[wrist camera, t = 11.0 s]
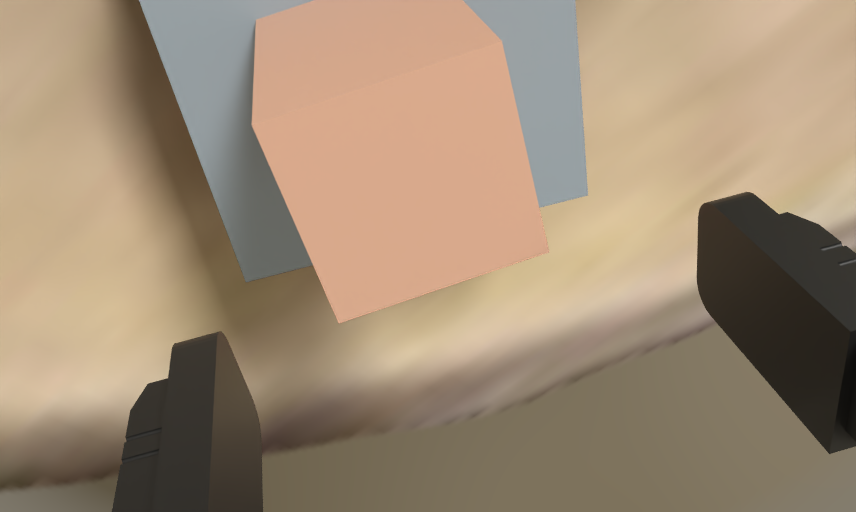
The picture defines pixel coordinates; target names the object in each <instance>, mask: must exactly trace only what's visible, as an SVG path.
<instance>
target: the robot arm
mask: <svg viewBox="0 0 856 512" xmlns="http://www.w3.org/2000/svg"><path fill="white" fill-rule="evenodd" d="M697 285H698V290H699V294H700V297H701V300H702V302H703V304H704V306H705V308H706V310H707V311H708V313H709V314H710V315H711V317H712V318H713V319H714V320H715V321H716V322H717V324H718V325H719V326H720V327H721V328H722V329H723V331H724V332H725V333H726V334H727V335H728V336H729V338H730V339H731V340H732V341H733V342H734V343H735V345H736V346H737V347H738V348H739V349H740V350H741V352H742V353H743V354H744V355H745V356H746V357H747V359H748V360H749V361H750V362H751V363H752V364H753V366H754V367H755V368H756V369H757V370H758V371H759V373H760V374H761V375H762V376H763V377H764V378H765V380H766V381H767V382H768V383H769V384H770V385H771V387H772V388H773V389H774V390H775V391H776V392H777V393H778V395H779V396H780V397H781V398H782V399H783V400H784V401H785V403H786V404H787V405H788V406H789V408H791V410H792V411H793V412H794V413H795V415H796V416H797V417H798V418H799V419H800V420H801V421H802V423H803V424H804V425H805V426H806V427H807V428H808V430H809V431H810V432H811V433H812V434H813V435H814V437H815V438H816V439H817V440H818V441H819V442H820V444H821V445H822V446H823V447H824V448H825V449H826V451H827V452H828V453H829V454H831V453H834V452H837V451H841V450H844V449H848V448H851V447H854V446H856V253H855V252H853V251H852V250H851V249H849V248H848V247H847V246H842V243H841V241H839V240H838V239H837V238H835V237H834V236H833V235H832V234H830V233H829V232H828V231H827V230H825V229H824V228H823V227H821V226H820V225H819V224H816V223H814V222H811V221H809V220H806V219H804V218H801V217H798V216H796V215H793V214H791V213H788V212H786V213H783V214H778V213H776V212H775V211H774V210H773V209H772V208H770V207H769V206H768V205H767V204H766V203H764V202H763V201H762V200H761V199H759V198H758V197H757V196H756V195H754V194H753V193H750V192H745V193H741V194H737V195H733V196H730V197H726V198H722V199H718V200H715V201H711V202H707V203H704V204H703V205H702V206H701V208H700V210H699V216H698V251H697ZM126 440H127V442H125V443H124V448H123V454H122V462H123V464H122V465H120V470H119V476H118V481H117V487H116V492H115V498H114V503H113V509H112V512H263V496H262V448H261V430H260V424H259V419H258V415H257V411H256V407H255V404H254V401H253V399H252V396H251V394H250V392H249V389H248V387H247V385H246V382H245V380H244V378H243V375H242V373H241V371H240V368H239V366H238V364H237V361H236V359H235V357H234V354H233V352H232V350H231V347H230V345H229V343H228V341H227V339H226V337H225V335H224V334H223V333H222V332H216V333H213V334H209V335H205V336H201V337H198V338H194V339H190V340H186V341H183V342H179V343H175V344H174V345H173V347H172V353H171V361H170V369H169V376H168V378H167V379H164V380H160V381H156V382H153V383H149V384H147V386H146V387H145V389H144V391H143V392H142V394H141V395H140V397H139V398H138V400H137V401H136V403H135V404H134V406H133V407H132V409H131V410H130V416H129V421H128V427H127V432H126Z"/></svg>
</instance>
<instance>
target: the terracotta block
mask: <svg viewBox="0 0 856 512" xmlns="http://www.w3.org/2000/svg"><path fill="white" fill-rule="evenodd" d="M252 127H253V129H254V132H255V134H256V136H257V139H258V141H259V143H260V145H261V148H262V150H263V152H264V154H265V157H266V159H267V161H268V164H269V166H270V168H271V170H272V173H273V175H274V177H275V180H276V182H277V184H278V186H279V189H280V191H281V193H282V195H283V198H284V200H285V202H286V205H287V207H288V209H289V211H290V214H291V216H292V218H293V221H294V223H295V225H296V227H297V230H298V232H299V234H300V236H301V239H302V241H303V243H304V246H305V248H306V250H307V252H308V255H309V257H310V259H311V262H312V264H313V266H314V268H315V271H316V273H317V275H318V277H319V280H320V282H321V284H322V287H323V289H324V291H325V293H326V296H327V298H328V300H329V303H330V305H331V307H332V309H333V312H334V314H335V316H336V318H337V321H338V323H342V322H345V321H348V320H351V319H354V318H357V317H360V316H363V315H366V314H368V313H371V312H374V311H377V310H380V309H383V308H386V307H389V306H392V305H395V304H398V303H401V302H404V301H407V300H410V299H413V298H416V297H419V296H421V295H424V294H427V293H430V292H433V291H436V290H439V289H442V288H445V287H448V286H451V285H454V284H457V283H460V282H463V281H466V280H469V279H472V278H474V277H477V276H480V275H483V274H486V273H489V272H492V271H495V270H498V269H501V268H504V267H507V266H510V265H513V264H516V263H519V262H522V261H525V260H528V259H530V258H533V257H536V256H539V255H542V254H545V253H548V252H549V249H548V244H547V240H546V235H545V231H544V226H543V222H542V217H541V213H540V209H539V204H538V200H537V195H536V191H535V186H534V182H533V177H532V173H531V168H530V164H529V159H528V155H527V151H526V146H525V142H524V137H523V133H522V128H521V124H520V119H519V115H518V110H517V106H516V102H515V97H514V93H513V88H512V84H511V79H510V75H509V70H508V66H507V61H506V57H505V53H504V48H503V44H502V41H501V40H500V38H499V37H498V36H497V35H496V34H495V33H494V32H493V31H492V30H491V29H490V28H489V27H488V26H487V25H486V24H485V23H484V22H483V21H482V20H481V19H480V18H479V17H478V16H477V15H476V13H475V12H474V11H473V10H472V9H471V8H470V7H469V6H468V5H467V4H466V3H465V2H464V1H463V0H313V1H310V2H307V3H304V4H302V5H299V6H296V7H293V8H290V9H287V10H284V11H281V12H278V13H275V14H272V15H269V16H266V17H263V18H260V19H257V20H256V29H255V54H254V79H253V105H252Z"/></svg>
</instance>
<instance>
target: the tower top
mask: <svg viewBox="0 0 856 512" xmlns="http://www.w3.org/2000/svg"><path fill="white" fill-rule="evenodd" d="M310 1H313V0H139V2H140V4H141V7H142V10H143V12H144V15H145V18H146V20H147V23H148V26H149V28H150V31H151V33H152V36H153V39H154V41H155V44H156V47H157V49H158V52H159V55H160V57H161V60H162V62H163V65H164V68H165V70H166V73H167V76H168V78H169V81H170V84H171V86H172V89H173V91H174V94H175V97H176V99H177V102H178V105H179V107H180V110H181V113H182V115H183V118H184V120H185V123H186V126H187V128H188V131H189V134H190V136H191V139H192V142H193V144H194V147H195V149H196V152H197V155H198V157H199V160H200V163H201V165H202V168H203V171H204V173H205V176H206V178H207V181H208V184H209V186H210V189H211V192H212V194H213V197H214V200H215V202H216V205H217V207H218V210H219V213H220V215H221V218H222V221H223V223H224V226H225V229H226V231H227V234H228V236H229V239H230V242H231V244H232V247H233V250H234V252H235V255H236V258H237V260H238V263H239V265H240V268H241V271H242V273H243V276H244V279H245V281H246V282H249V281H253V280H257V279H261V278H265V277H269V276H273V275H277V274H281V273H285V272H289V271H292V270H296V269H300V268H304V267H308V266H312V265H313V264H312V262H311V259H310V257H309V255H308V252H307V250H306V248H305V246H304V243H303V241H302V239H301V236H300V234H299V232H298V230H297V227H296V225H295V223H294V221H293V218H292V216H291V214H290V211H289V209H288V207H287V205H286V202H285V200H284V198H283V195H282V193H281V191H280V189H279V186H278V184H277V182H276V180H275V177H274V175H273V173H272V170H271V168H270V166H269V164H268V161H267V159H266V157H265V154H264V152H263V150H262V148H261V145H260V143H259V141H258V139H257V136H256V134H255V132H254V129H253V127H252V105H253V79H254V54H255V29H256V20H257V19H260V18H263V17H266V16H269V15H272V14H275V13H278V12H281V11H284V10H287V9H290V8H293V7H296V6H299V5H302V4H304V3H307V2H310ZM463 1H464V2H465V3H466V4H467V5H468V6H469V7H470V8H471V9H472V10H473V11H474V12H475V13H476V15H477V16H478V17H479V18H480V19H481V20H482V21H483V22H484V23H485V24H486V25H487V26H488V27H489V28H490V29H491V30H492V31H493V32H494V33H495V34H496V35H497V36H498V37H499V38H500V40H501V41H502V44H503V48H504V53H505V57H506V61H507V66H508V70H509V75H510V79H511V84H512V88H513V93H514V97H515V102H516V106H517V110H518V115H519V119H520V124H521V128H522V133H523V137H524V142H525V146H526V151H527V155H528V159H529V164H530V168H531V173H532V177H533V182H534V186H535V191H536V195H537V200H538V204H539V208H540V207H544V206H548V205H552V204H556V203H560V202H563V201H567V200H571V199H575V198H579V197H583V196H587V195H588V188H587V173H586V158H585V142H584V127H583V112H582V97H581V82H580V67H579V52H578V37H577V22H576V7H575V0H463Z"/></svg>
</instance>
